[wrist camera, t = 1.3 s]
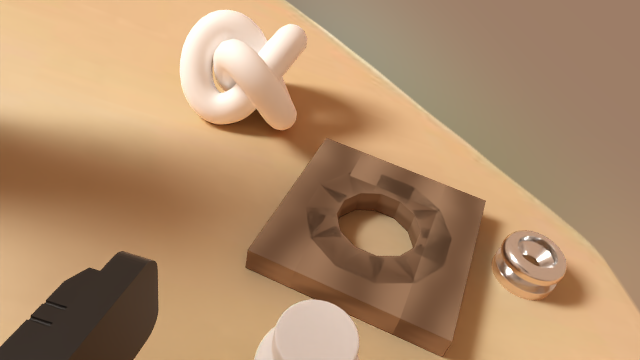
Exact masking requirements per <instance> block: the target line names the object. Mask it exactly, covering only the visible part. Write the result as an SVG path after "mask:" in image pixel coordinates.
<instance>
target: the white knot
mask: <svg viewBox="0 0 640 360" xmlns="http://www.w3.org/2000/svg"><path fill="white" fill-rule="evenodd" d="M306 44H307V37H306V34H305V31H304V30H303V29H302V28H300V27H299V26H298V25H293V24H288V25H286V26H283V27H281V28H280V29H279V30H278V31H277V32H276V33H275V35H274V36H273V37H272V38H271V39H270V40H269V41H267V39H266V37H265V36H264V34H263V32H262V31H261V29H260V28H259V27H258V25H257V24H256V23H255V22H254V21H253V20H251V19H250V18H249V17H247V16H246V15H244V14H242V13H240V12H237V11H232V10H218V11H215V12H212V13H209V14H208V15H206V16H204V17H203V18H201V19H200V20H199V21H198V22H197V23H196V24H195V25H194V26H193V28H192V29H191V31H190V33H189V34H188V36H187V38H186V41H185V43H184V46H183V49H182V54H181V59H180V79H181V86H182V89H183V92H184V95H185V98H186V99H187V101H188V103H189V105H190V107H191V108H192V109H193V110H194V111H195V112H196V113H197V115H199V116H200V117H202V118H203V119H204V120H206V121H209V122H211V123H214V124H230V123H235V122H238V121H241V120H243V119H244V118H246V117H247V116H249V115H250V114H251V113H252V112H254V111H255V110H256V109H257V110H258V112H259V113H260V114H261V116H262V117H263V118H264V120H265V121H266V122H267V123H268V124H269V125H270V126H271V127H273V128H274V129H277V130H285V129H288V128H290V127H291V126H292V125H293V124H294V123H295V121H296V116H297V112H296V109H295V107H294V104H293V102H292V100H291V97H290V95H289V92H288V90H287V87H286V85H285V82H284V80H283V75H284V74H285V73H286V72H287V70H288V69H289V68H290V67H291V65H292V64H293V63H294V61H295V60H296V59H297V58H298V56H299V55H300V54H301V53H302V52H303V50H304V49H305V48H306ZM213 63H214V72H215V77H216V80H217V83H218V84H219V86H220V87H221V88H222V89H223V90H224V91H225V92H224V93H221V92H219V91H218V90H217V88H216V87H215V84H214V81H213V75H212V66H213Z"/></svg>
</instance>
